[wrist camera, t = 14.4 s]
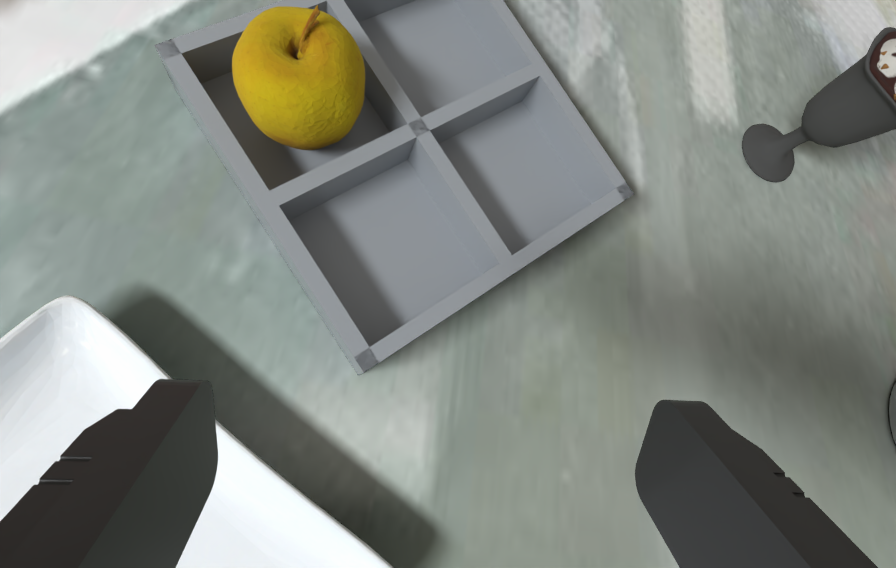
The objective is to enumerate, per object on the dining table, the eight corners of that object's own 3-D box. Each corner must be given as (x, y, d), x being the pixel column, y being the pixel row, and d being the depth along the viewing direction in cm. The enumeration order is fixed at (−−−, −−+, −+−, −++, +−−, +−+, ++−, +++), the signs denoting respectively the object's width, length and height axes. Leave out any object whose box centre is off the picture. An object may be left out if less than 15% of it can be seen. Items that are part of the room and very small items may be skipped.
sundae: (773, 209, 38) (1049, 99, 23) (717, 142, 38) (960, -9, 23) (814, 164, 40) (1090, 39, 26) (762, 101, 40) (1008, -60, 26)
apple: (355, 76, 30) (367, -30, 23) (363, 173, 29) (379, 96, 21) (243, 70, 28) (216, -46, 21) (247, 173, 27) (221, 89, 20)
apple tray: (446, -18, 34) (461, -63, 31) (601, 214, 34) (634, 194, 30) (174, 87, 28) (154, 44, 25) (358, 375, 27) (363, 372, 24)
